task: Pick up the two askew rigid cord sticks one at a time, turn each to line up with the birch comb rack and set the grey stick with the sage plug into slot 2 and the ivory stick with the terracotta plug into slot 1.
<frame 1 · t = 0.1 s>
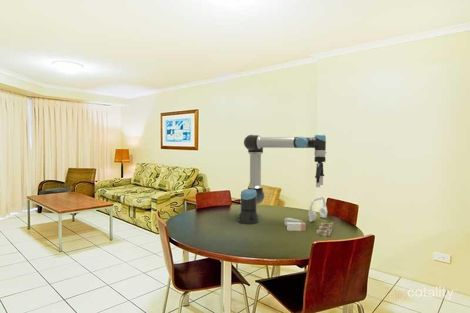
hand: (319, 186, 206), 28 cm above the table, fingers open, 13 cm apart
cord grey: (293, 225, 205), on the table
comb rack: (326, 231, 191), on the table
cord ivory: (296, 229, 195), on the table
headset: (317, 220, 221), on the table
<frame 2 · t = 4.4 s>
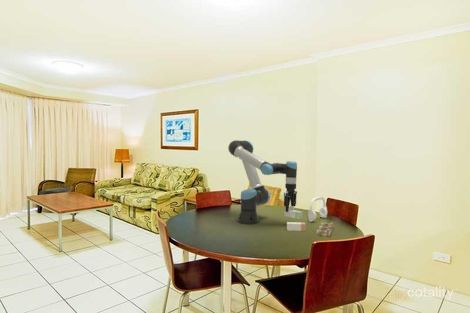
hand: (289, 215, 207), 7 cm above the table, fingers closed on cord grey, 4 cm apart
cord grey: (293, 217, 205), point 6 cm above the table, touching gripper
everything else where it was.
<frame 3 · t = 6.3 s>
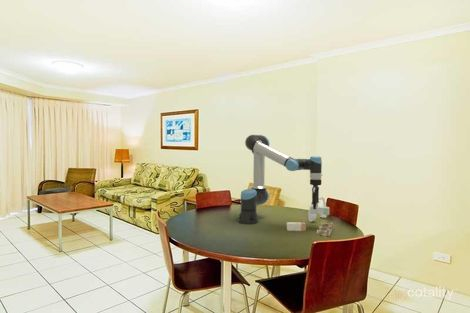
hand: (315, 212, 198), 11 cm above the table, fingers closed on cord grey, 4 cm apart
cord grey: (319, 213, 197), point 10 cm above the table, touching gripper
everything else where it was.
when the fingers open (1 cm above the table, at t = 8.2 s): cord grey stays where it is, on the table.
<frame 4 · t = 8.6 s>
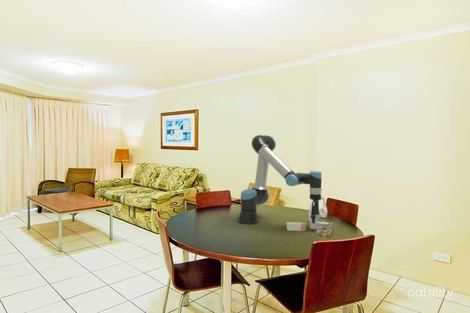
hand: (315, 225, 198), 2 cm above the table, fingers open, 10 cm apart
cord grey: (319, 229, 197), on the table
everything else where it was.
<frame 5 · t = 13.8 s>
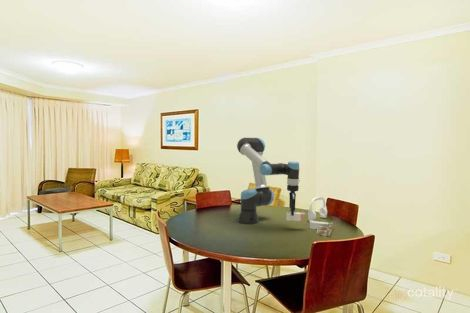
hand: (291, 218, 195), 7 cm above the table, fingers closed on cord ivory, 4 cm apart
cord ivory: (295, 219, 195), point 7 cm above the table, touching gripper
everything else where it was.
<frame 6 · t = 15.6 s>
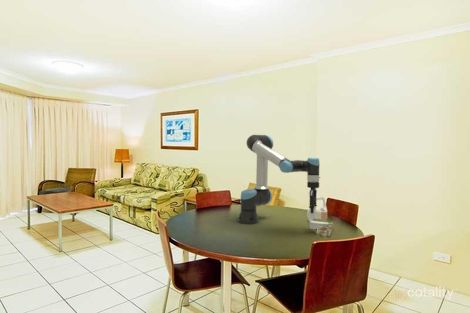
hand: (312, 216, 189), 10 cm above the table, fingers closed on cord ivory, 4 cm apart
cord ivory: (317, 218, 188), point 10 cm above the table, touching gripper
everything else where it was.
when the fingers open (1 cm above the table, at t = 17.5 s): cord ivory stays where it is, on the table.
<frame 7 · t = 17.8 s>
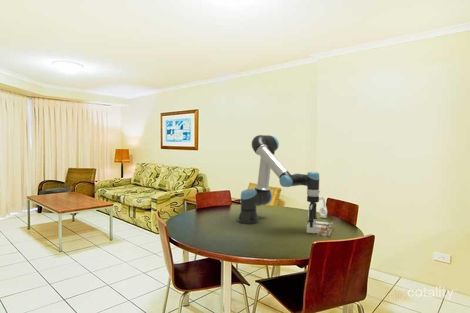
hand: (312, 230, 190), 1 cm above the table, fingers open, 7 cm apart
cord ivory: (316, 232, 189), on the table
everything else where it was.
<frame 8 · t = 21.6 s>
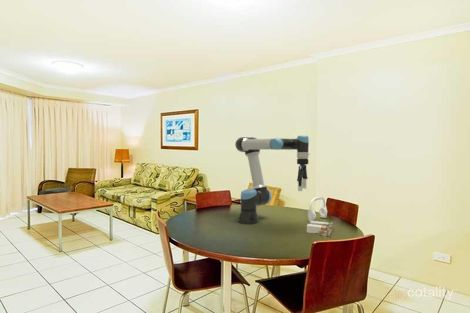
hand: (302, 189, 196), 27 cm above the table, fingers open, 13 cm apart
nothing on the table moved.
at the end: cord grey 1.4 cm from the target spot, on the table; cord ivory 1.1 cm from the target spot, on the table; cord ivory tilted 0° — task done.
